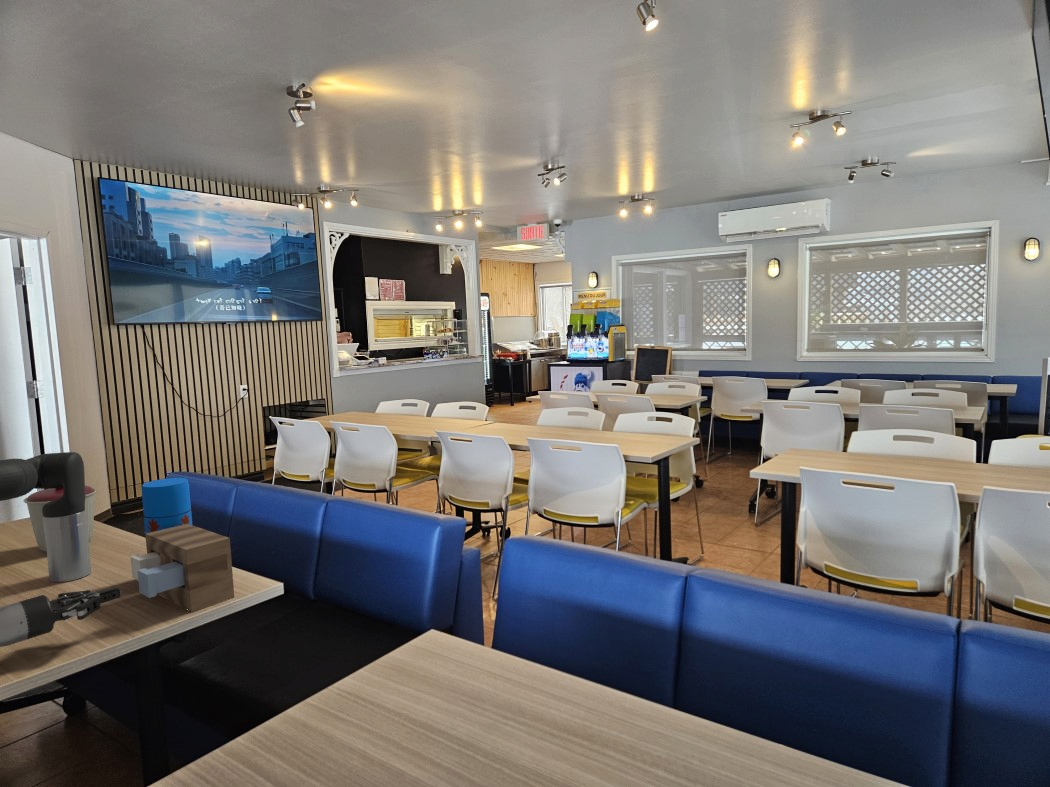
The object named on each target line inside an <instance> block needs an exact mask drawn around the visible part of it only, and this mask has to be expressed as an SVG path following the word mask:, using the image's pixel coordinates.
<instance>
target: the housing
mask: <svg viewBox="0 0 1050 787" xmlns="http://www.w3.org/2000/svg"><path fill="white" fill-rule="evenodd" d="M144 536H145V546H146V554H148V553H152V552H158V553H160V558H161V565H165V564H168V563H172V562H175V561H179V562H182V563H183V570H184V581H185V585H182V586H179V587H176V588H173V589H170V590H166V591H163V592H160V593H157V596H159V597H162V598H163V599H166V600H167V601H169V602H171V603H173V604H175V605H177V606H179V607H180V608H182V607H183V608H182V609H184V608H185V609H184V610H186V609H188V610H189V611H188V610H187V611H188V612H190V611H191V612H190V613H193V612H192V611H194V612H196V611H199V610H201V609H205V608H208V607H210V606H214V605H217V604H219V603H221V602H225V601H227V599H228V600H230V598H231V599H233V597H234V598H235V588H234V578H233V577H234V576H233V575H234V574H233V563H232V550H231V540H230V538H231V537H228V536H225V535H221V534H219V533H216V532H212V531H210V530H208V529H204V528H201V527H198V526H196V525H193V524H192V525H190V524H183V525H179V526H175V527H171V528H167V529H163V530H159V531H155V532H150V533H145V535H144ZM198 609H199V610H198ZM195 610H196V611H195Z"/></svg>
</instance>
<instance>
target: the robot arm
mask: <svg viewBox="0 0 1050 787" xmlns="http://www.w3.org/2000/svg"><path fill="white" fill-rule="evenodd" d="M85 476H86V475H85V463H84V461H83V457H82V456H81V454H80V453H78V452H76V451H75V452H74V451H71V452H69V451H68V452H52V453H51V452H50V453H42V454H39V455H36V456H33V457H29V458H27V459H22V458H7V459H0V502H3V501H7V500H12V499H13V500H14V499H17V498H20V497H23V496H25V495H26V496H27V494H29V493H31V491H33V490H35V489H37V490H45V489H53V488H64V493H63V496H61V497H60V498H58V499H56V500H53V501H51V502H48V503H46V504H45V505H44V506H43V507H42V514H43V523H44V532H45V541H46V550H47V552H46V558H47V568H48V569H47V570H48V577H49V578H48V579H49V581H50V582H52V583H63V582H70V581H75V580H78V579H81V578H84V577H86V576H89V575H90V574H91V573H92V564H91V552H90V542H89V541H88V531H87V521H86V512H85V486H86V482H85V480H86V479H85ZM120 590H121V589H120V588H119V587H117V586H113V587H109V588H105V589H103V590H99V591H95V590H93V591H91V590H89V589H87V590H81V591H71V592H62V593H61V592H60V593H59V594H57V597H56V599H52V600H50V599H49V597H48V596H47V595H44V594H41V595H37V596H33V597H30V598H28V599H27V598H26V599H23V600H20V601H16V602H12V603H9V604H6V605H2V606H0V648H2V647H7V646H11V645H14V644H18V643H20V642H24V641H26V640H30V639H32V638H37V637H39V636H42V635H45V634H49V633H52V632H53V629H54V627H55V626H54V625H55V623H56V622H59V621H68V620H72V619H73V618H75V617H76V618H77V621H78V620H79V621H81V620H83V619H85V618H87V617H89V616H90V615H92V614H93V613H95V612H96V611H98V610H99V609H101V604H104V603H107V602H110V601H115V600H117V599H119V598H121V591H120Z"/></svg>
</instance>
